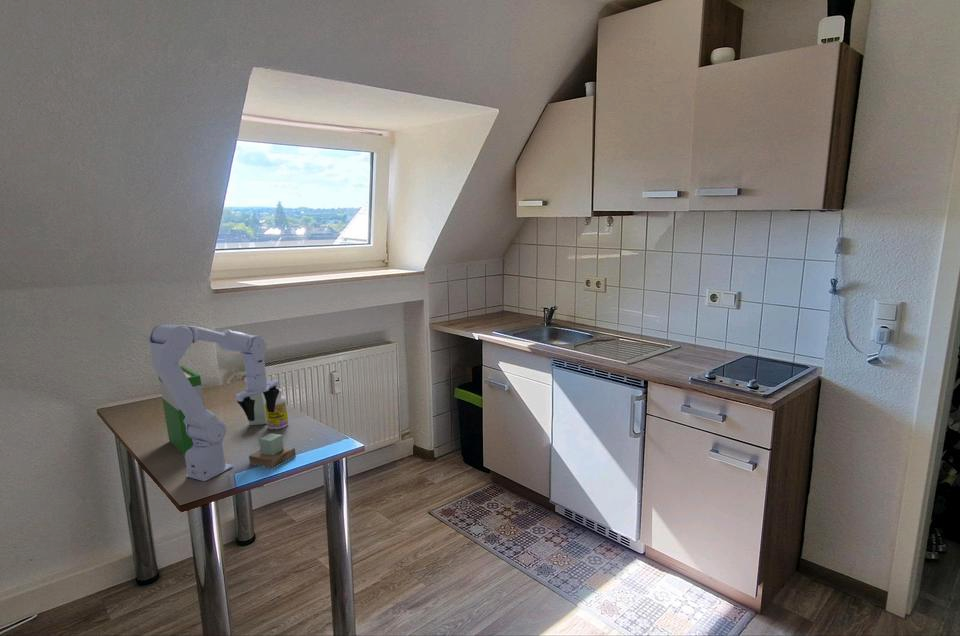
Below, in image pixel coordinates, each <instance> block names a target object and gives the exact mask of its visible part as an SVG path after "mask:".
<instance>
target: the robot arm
mask: <svg viewBox="0 0 960 636" xmlns="http://www.w3.org/2000/svg"><path fill="white" fill-rule="evenodd" d="M198 341H202V342H208V343H214V344H218V346H219V348H220V349H222V350H226V351H232V352H237V353H240V354H242V356H243V364H244V366H243V367H244V373H245V378H246V379H245V380H246V386H247V387H246V388H245V389H244V390H242V391H241V392H239V393H236V394H235V400H236V402H237V403H238V405H239V406H240V407H241V409H242V410H243V411H244V414H245V416H246V418H247V421H248V422H249V421H254V420H255V415H254V404H255V400H251V398H250V397H252V396H254V395H257V394H259V393H262V392H263V394H264V397H265V400H266V405H267V410H268V412H274V409H275V403H276V399H277V396H278V394H279V389H280V388H278V387H280V386H279V380H271V381H268V379H267V373H266V365H265V364H266V363H265V357H266V354H265V352H266V350H267V345H268V344H267V342H266V341H265V339H264V338H263V337H262V336H260V335H251V334H250V332H247V331H244V332H241V331H237V329H236V328H229V329H224V330H222V331H221V332H220V331H215V330H211V329H208V328H206V327H205V328H204V327H200V326H197V325H196V326H195V325H188V324H187V325H185V324H184V325H183V324H166V323H159V324H156V325H154V327H153V328H152V329H151V331H150V333H149V336H148V339H147V343H148V345H149V346H150V352H151V365H152V368H153V370H154V372H156V374H157V376H158V378H159V377H160V379H161V380H162V382H163V383H164V385H165V386H166V388H167V389H168V391H169V392H170V394H171V395H172V397H173V398H174V400H175V402H176V403H177V405H178V406H179V408H180V409H181V411H182V412H183V414H184V415H185V419H184V421H183V422H184V424H185V426H186V433H187V435H188V436H189V437H190V438H192V441H193V443H194V445H193V446H192V447H191V448H190V449H189V450H187V451H186V453H185V456H184V459H185V466H186V472H187V474H186V475H185V476H186V477H187V478H190V479H195V480H197V481H201V482H207V481H209V480H211V479H212V478H215V477H216V476H219V475H220V474H222V473H224V472H226V471H228V470H230V469H232V468H233V467H234V465H233V464H229V463H226V457H225V451H224V450H225V449H224V442H223V441H224V438H225V436H226V433H227V426H226V423H224V422H223V421H222V420H220V419H218V417H217V416H216V415H215V414H214V413H212V412H211V411H210V410H209V409H208V408H207V407H206V405H205V403H204V404H203V403H202V401H201V399H200V398H199V396H198V395H197V393H196V391H195V390H194V388H193V387H192V385H191V383H190V382H189V380H188V379H187V377H186V375H185V374H184V372H183V371H182V369H181V367H180V366H181V365H180V364H179V363H180V361H181V360H182V359H183V357H184V355H185V354H186V352H187V351H188V349H189V348H190V347H191V345H192V344H196V343H197V342H198ZM277 388H278V389H277ZM204 405H205V406H204Z"/></svg>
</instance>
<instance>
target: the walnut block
mask: <svg viewBox="0 0 960 636" xmlns="http://www.w3.org/2000/svg"><path fill="white" fill-rule="evenodd" d="M283 446H284V450H282V451H280V452H278V453H276V454H274V455H266V454H261V451H260V450H257V451H256V452H253V453H252V454H250V455H248V461H249V464H250V463H251V464H250V465H253V464H256V465H255V466H258V465H260V466H259V467H262V466H265V467H264V468H267V467H269V468H268V469H271V468H273V469H274V467H275V468H277V467H278V466H277V465H279V464H280V465H282V464H284V463H285V461H286V460H287V461H289V460H291V459H293V458H294V457H293V456H295V455H296V456H297V453H296V448H295V447H293V446H288V445H287V446H286V445H283ZM296 456H295V457H296ZM292 457H293V458H292ZM290 458H291V459H290ZM288 459H289V460H288ZM287 461H286V462H287ZM283 462H284V463H283ZM281 463H282V464H281ZM280 465H279V466H280ZM276 466H277V467H276Z"/></svg>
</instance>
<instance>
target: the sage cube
mask: <svg viewBox="0 0 960 636" xmlns="http://www.w3.org/2000/svg"><path fill="white" fill-rule="evenodd" d="M258 442H259V449H260V451H261V454H266V455H274V454H276V453H278V452H280V451H282V450H284V446H285V445H284V441H283V434H278V433H273V432H272V433H268V434H267V435H263V437H260V438H259V439H258Z"/></svg>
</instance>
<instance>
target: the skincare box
mask: <svg viewBox="0 0 960 636" xmlns="http://www.w3.org/2000/svg"><path fill="white" fill-rule="evenodd" d="M250 398H251V400H255V404H254V415H255V420H254V421H249V420H248V425H249V426H258V425H267V417H266V409H265V397H264V394H263V392H262V393H259V394H257V395H254V396H252V397H250Z"/></svg>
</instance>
